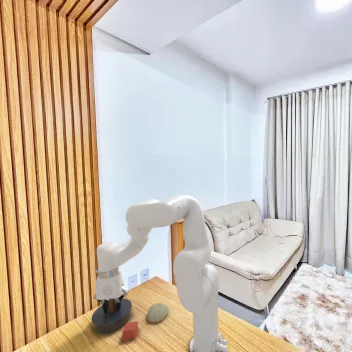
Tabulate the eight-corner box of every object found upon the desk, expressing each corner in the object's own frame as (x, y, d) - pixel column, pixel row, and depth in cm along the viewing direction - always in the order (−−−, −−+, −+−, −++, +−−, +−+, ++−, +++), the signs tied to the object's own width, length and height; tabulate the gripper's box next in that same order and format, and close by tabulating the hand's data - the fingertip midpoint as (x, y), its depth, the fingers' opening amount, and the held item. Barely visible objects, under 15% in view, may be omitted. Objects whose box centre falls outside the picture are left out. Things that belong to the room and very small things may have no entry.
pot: (138, 313, 96) (138, 304, 96) (110, 339, 83) (109, 329, 82) (116, 305, 101) (115, 297, 101) (85, 329, 88) (84, 319, 87)
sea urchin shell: (163, 301, 101) (166, 296, 96) (168, 318, 98) (172, 314, 93) (143, 310, 96) (146, 305, 91) (148, 328, 92) (151, 325, 87)
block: (138, 330, 87) (137, 321, 86) (134, 339, 82) (134, 329, 82) (127, 332, 86) (126, 322, 86) (123, 341, 82) (122, 331, 81)
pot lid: (139, 305, 96) (138, 292, 95) (108, 332, 82) (107, 316, 81) (115, 297, 102) (114, 284, 101) (83, 321, 87) (81, 306, 87)
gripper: (82, 278, 85) (87, 319, 87) (126, 274, 87) (129, 313, 89) (92, 268, 92) (96, 306, 94) (132, 264, 94) (135, 301, 96)
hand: (112, 309), depth 91 cm, fingers open, 4 cm apart
